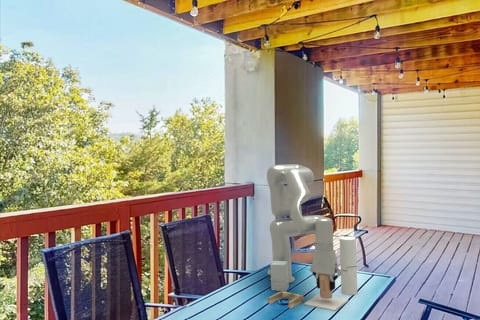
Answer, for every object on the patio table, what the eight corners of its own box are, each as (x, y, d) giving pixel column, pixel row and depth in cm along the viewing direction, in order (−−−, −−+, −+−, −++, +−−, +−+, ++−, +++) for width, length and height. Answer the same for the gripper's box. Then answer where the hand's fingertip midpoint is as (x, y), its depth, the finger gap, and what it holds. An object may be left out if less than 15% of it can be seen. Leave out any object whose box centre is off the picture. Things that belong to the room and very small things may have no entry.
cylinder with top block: (316, 298, 168) (315, 274, 168) (323, 293, 173) (322, 271, 173) (327, 300, 165) (327, 276, 165) (334, 295, 170) (333, 272, 170)
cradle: (268, 303, 171) (267, 297, 171) (281, 296, 180) (281, 290, 180) (291, 308, 164) (290, 302, 164) (303, 301, 173) (303, 295, 173)
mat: (304, 304, 168) (304, 303, 168) (318, 295, 179) (318, 294, 179) (334, 311, 160) (334, 309, 160) (348, 301, 171) (348, 299, 171)
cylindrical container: (358, 295, 178) (356, 239, 178) (341, 294, 179) (339, 239, 179) (356, 290, 185) (354, 236, 185) (341, 289, 186) (339, 236, 186)
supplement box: (289, 286, 193) (288, 261, 193) (286, 291, 186) (285, 264, 186) (274, 285, 195) (273, 260, 196) (270, 290, 188) (269, 264, 189)
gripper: (302, 246, 172) (304, 287, 172) (339, 250, 162) (341, 294, 161) (310, 243, 178) (312, 283, 178) (346, 247, 168) (348, 289, 167)
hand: (325, 288), depth 170 cm, fingers closed on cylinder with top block, 5 cm apart
